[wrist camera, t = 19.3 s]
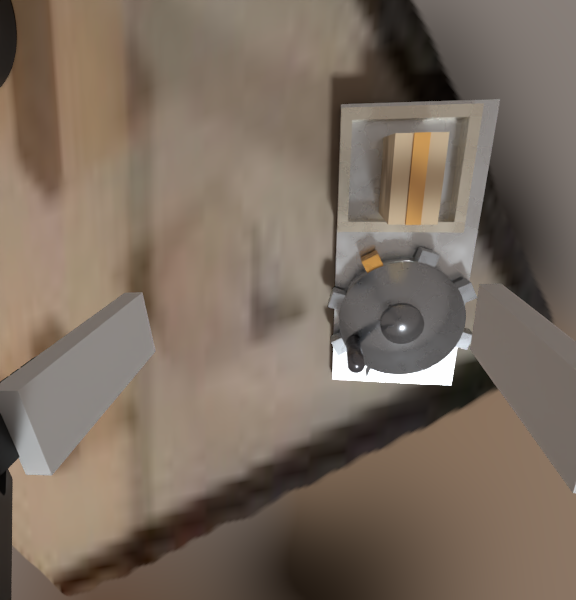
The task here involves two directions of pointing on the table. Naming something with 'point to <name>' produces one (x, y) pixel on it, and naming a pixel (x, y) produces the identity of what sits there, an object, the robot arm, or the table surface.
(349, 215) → the base plate
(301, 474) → the table surface
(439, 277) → the sprocket
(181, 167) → the table surface
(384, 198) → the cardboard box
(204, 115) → the table surface
